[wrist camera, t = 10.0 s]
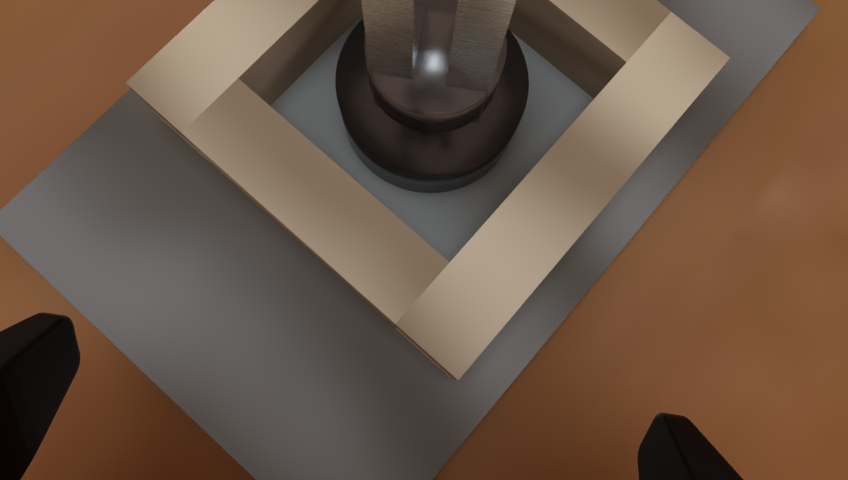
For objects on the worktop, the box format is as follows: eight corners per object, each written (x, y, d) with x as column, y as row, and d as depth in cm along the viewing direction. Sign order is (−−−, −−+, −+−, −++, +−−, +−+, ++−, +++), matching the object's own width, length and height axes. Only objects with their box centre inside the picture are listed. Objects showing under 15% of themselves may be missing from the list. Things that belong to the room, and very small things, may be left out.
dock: (357, 561, 17) (346, 613, 13) (8, 230, 18) (-82, 200, 15) (800, 24, 21) (880, -43, 17) (484, -218, 22) (500, -325, 19)
